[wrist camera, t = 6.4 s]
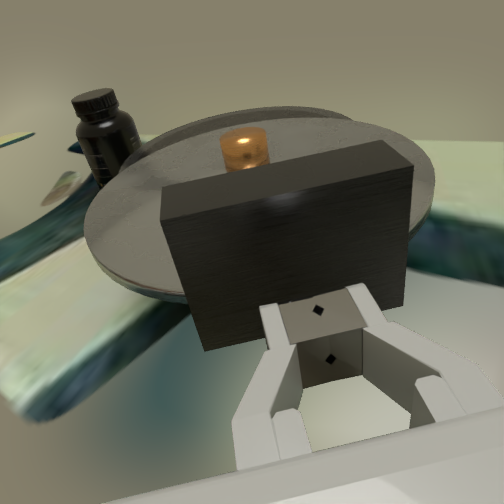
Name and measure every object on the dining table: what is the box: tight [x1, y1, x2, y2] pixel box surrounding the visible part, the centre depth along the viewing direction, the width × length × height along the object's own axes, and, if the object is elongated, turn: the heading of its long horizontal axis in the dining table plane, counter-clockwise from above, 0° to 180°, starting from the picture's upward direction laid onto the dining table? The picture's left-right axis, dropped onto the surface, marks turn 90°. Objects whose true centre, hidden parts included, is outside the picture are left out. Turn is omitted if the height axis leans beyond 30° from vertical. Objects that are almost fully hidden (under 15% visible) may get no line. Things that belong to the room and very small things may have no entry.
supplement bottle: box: [71, 88, 142, 190], centre depth 49 cm, size 7×7×12 cm
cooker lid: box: [84, 118, 435, 351], centre depth 23 cm, size 23×21×6 cm
